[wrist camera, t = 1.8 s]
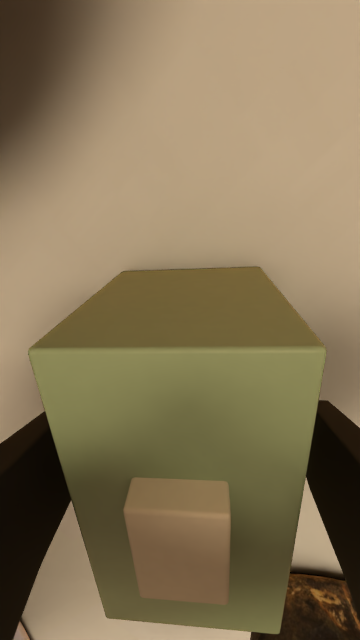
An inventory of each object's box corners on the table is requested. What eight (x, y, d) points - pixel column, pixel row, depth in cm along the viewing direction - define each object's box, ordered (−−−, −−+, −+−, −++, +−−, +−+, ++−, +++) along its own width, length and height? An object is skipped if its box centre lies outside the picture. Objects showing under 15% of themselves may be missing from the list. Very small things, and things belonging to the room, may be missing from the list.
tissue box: (249, 455, 13) (287, 675, 7) (145, 452, 14) (96, 655, 8) (260, 266, 10) (351, 373, 4) (121, 270, 10) (-5, 371, 4)
